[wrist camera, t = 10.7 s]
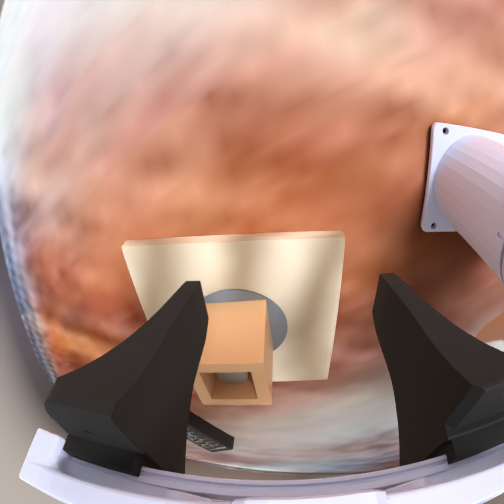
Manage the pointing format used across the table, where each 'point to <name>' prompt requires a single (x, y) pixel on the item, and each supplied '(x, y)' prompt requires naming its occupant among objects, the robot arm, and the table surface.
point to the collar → (236, 354)
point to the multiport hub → (207, 435)
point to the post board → (254, 287)
